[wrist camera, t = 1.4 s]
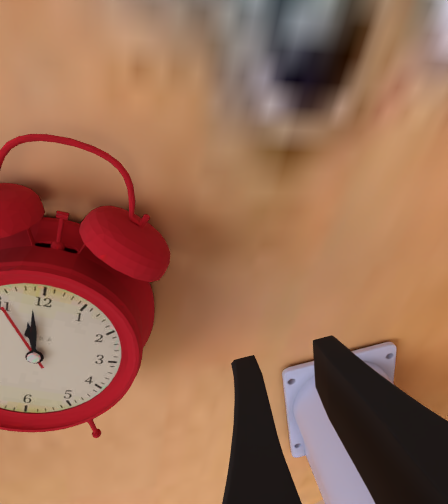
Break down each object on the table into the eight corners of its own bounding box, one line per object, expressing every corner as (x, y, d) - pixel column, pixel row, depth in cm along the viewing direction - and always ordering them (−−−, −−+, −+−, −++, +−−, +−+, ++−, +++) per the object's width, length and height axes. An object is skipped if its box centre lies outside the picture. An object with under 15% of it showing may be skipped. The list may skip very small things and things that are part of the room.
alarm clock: (-100, 444, 17) (-211, 160, 9) (-40, 336, 22) (-72, 84, 13) (125, 453, 20) (211, 249, 12) (135, 356, 25) (201, 161, 16)
